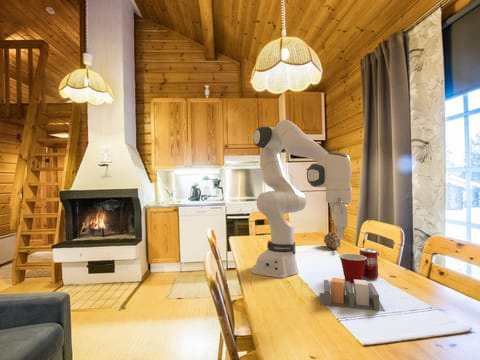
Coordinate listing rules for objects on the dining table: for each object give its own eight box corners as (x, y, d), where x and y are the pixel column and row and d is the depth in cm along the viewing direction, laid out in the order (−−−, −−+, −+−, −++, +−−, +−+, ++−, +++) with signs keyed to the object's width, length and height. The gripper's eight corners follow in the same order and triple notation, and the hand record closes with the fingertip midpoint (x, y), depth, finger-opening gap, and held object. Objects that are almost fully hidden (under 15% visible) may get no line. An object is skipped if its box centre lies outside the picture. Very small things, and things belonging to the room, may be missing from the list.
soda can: (380, 280, 113) (379, 252, 113) (362, 279, 114) (361, 252, 114) (375, 274, 120) (374, 248, 120) (358, 273, 122) (357, 247, 122)
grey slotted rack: (320, 309, 89) (319, 290, 89) (319, 296, 99) (319, 279, 99) (385, 316, 84) (385, 295, 84) (377, 301, 94) (377, 283, 94)
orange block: (331, 301, 92) (330, 281, 92) (333, 296, 95) (332, 277, 95) (343, 303, 90) (343, 283, 90) (345, 298, 93) (344, 279, 93)
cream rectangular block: (356, 304, 89) (355, 283, 89) (354, 299, 93) (353, 279, 93) (369, 305, 88) (368, 284, 88) (366, 300, 92) (366, 280, 92)
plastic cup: (365, 280, 113) (365, 252, 113) (369, 290, 103) (368, 260, 103) (339, 278, 117) (338, 251, 117) (339, 287, 106) (339, 258, 106)
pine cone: (320, 245, 173) (320, 230, 173) (335, 245, 174) (334, 230, 174) (333, 255, 151) (333, 237, 151) (350, 254, 152) (349, 237, 152)
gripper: (352, 199, 84) (352, 243, 84) (344, 195, 103) (345, 230, 104) (331, 199, 85) (332, 242, 86) (327, 195, 105) (328, 229, 105)
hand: (339, 235), depth 95 cm, fingers open, 8 cm apart
